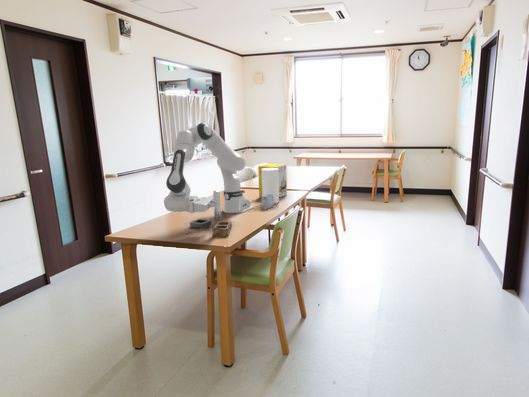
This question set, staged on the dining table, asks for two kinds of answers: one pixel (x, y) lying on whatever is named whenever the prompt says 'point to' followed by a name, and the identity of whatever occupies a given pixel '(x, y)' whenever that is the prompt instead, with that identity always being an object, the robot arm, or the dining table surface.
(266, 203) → the medicine box
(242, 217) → the dining table surface
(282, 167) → the packaging box
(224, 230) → the tool rack
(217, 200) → the rod
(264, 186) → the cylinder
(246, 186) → the dining table surface
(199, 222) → the socket block
